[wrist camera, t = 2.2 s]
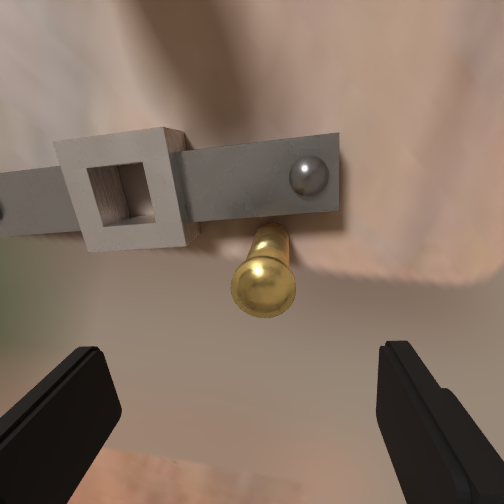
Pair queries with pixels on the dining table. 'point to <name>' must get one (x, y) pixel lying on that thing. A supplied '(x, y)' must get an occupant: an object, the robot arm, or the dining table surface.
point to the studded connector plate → (167, 187)
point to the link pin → (265, 275)
